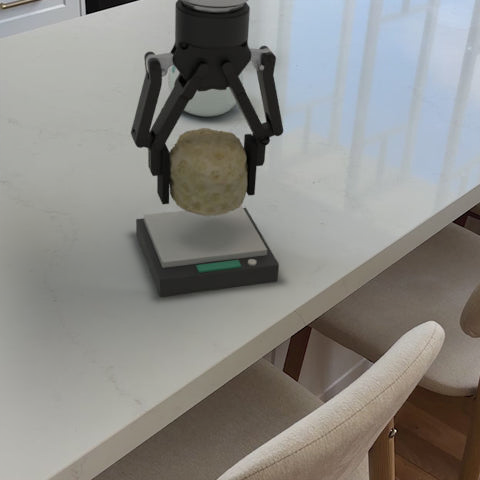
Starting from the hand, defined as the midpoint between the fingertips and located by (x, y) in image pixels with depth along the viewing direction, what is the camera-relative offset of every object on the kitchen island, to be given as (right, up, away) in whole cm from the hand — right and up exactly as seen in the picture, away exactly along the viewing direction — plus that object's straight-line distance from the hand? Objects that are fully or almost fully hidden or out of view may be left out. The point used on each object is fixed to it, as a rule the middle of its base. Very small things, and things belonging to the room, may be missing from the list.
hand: (206, 193), depth 102 cm
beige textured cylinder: (0, 0, 0) cm, 0 cm away
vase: (-3, +17, +39) cm, 43 cm away
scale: (0, -7, +4) cm, 8 cm away
